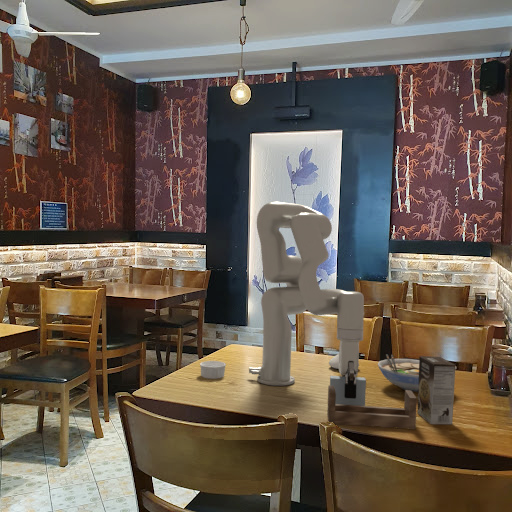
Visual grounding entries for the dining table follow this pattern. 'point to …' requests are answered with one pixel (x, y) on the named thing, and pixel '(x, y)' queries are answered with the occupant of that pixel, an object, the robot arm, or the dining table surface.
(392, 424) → the frame
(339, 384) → the light grey rectangular block
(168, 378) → the dining table surface
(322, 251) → the robot arm
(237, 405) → the dining table surface
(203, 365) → the ramekin
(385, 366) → the ramen bowl
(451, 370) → the coffee box
